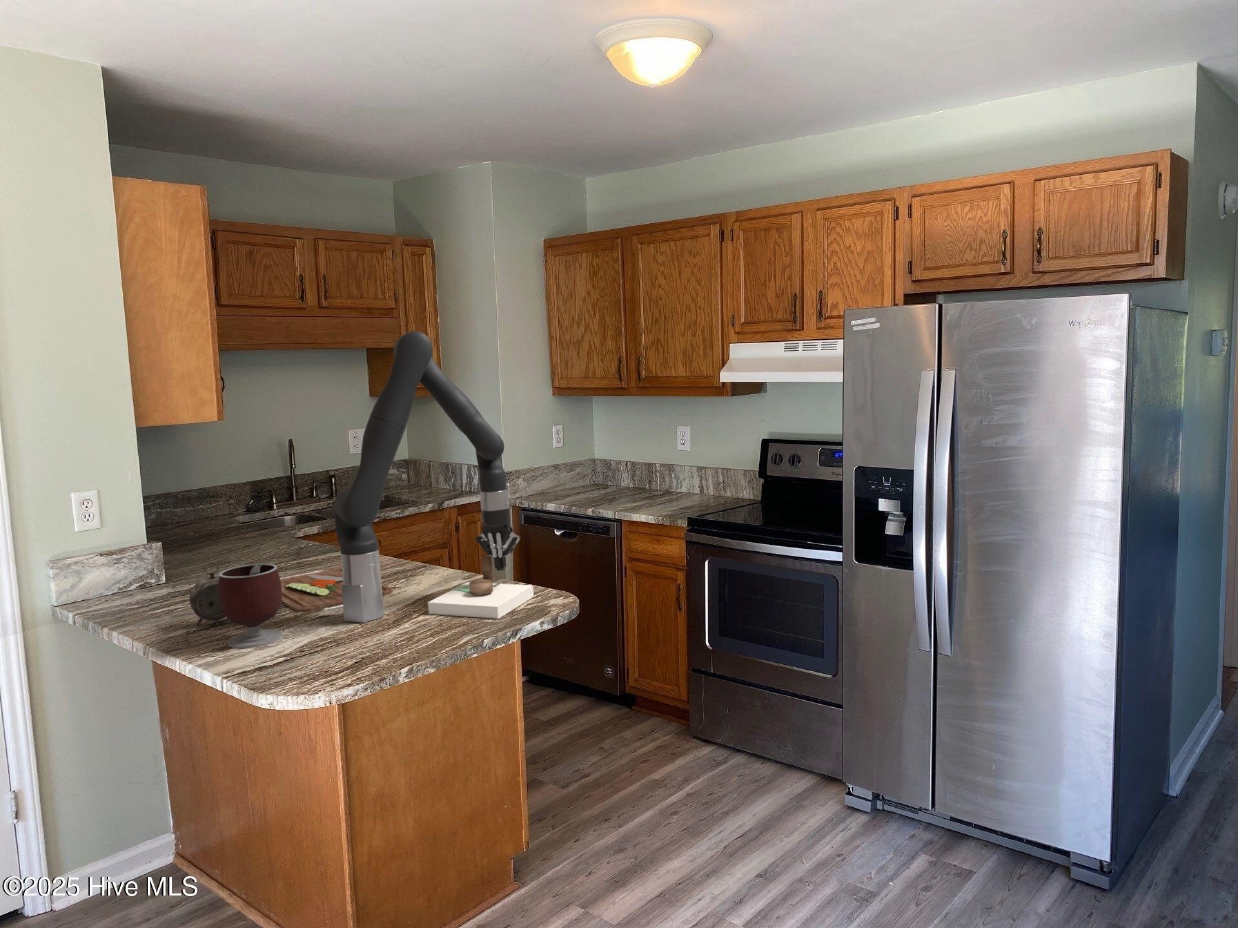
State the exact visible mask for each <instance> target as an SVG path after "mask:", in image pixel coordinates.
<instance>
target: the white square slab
mask: <svg viewBox="0 0 1238 928" xmlns="http://www.w3.org/2000/svg"><path fill="white" fill-rule="evenodd" d="M470 582H471V581H466V582H465V583H463V584H461V585H459V586H457V587H455V588H452V589H451V590H450V591H449V590H448V592H445V593H443V594H441V595H439V596H437V597H436V598H434V599H432V600H430V601H428V602H427V607H428V615H439V616H440V615H441V616H456V617H457V616H458V617H470V618H482V619H483V618H484V619H486V618H487V619H500V618H502V617H504V616H505V615H506V614H509V612H511V611H513V610H515V609H516V608H518V607H519V606H521V605H523V604H524V603H525V602H527V601H528V600H530V599H532V598H534V585H531V584H527V585H526V584H513V583H510V584H508V583H500V582H497V583H494V582H493V592H491V593H488V594H482V595H474V594H471V593H470V586H469V583H470Z"/></svg>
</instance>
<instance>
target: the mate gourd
mask: <svg viewBox="0 0 1238 928" xmlns="http://www.w3.org/2000/svg"><path fill="white" fill-rule="evenodd" d="M218 576H219V584H218V594H219V601H220V605H221V609H222V611H223V614H224V615H225V616H226V618H227V619H228V621H230V623H232V624H235V625H240V626H245V627H247V630H246V632H242V633H239V634H236V635H234V636H232V637H230V638H228V640H227V646H228V647H229V648H233V649H254V648H260V647H264V646H267V645H268V646H269V645H271V644H274V643H276V642H278V641H280V640H282V639H283V637H284V636H283V631H281V630H279V629H273V628H272V629H268V628H267V629H263V628H262V627H261V626H262V624H263V623H265V622H267V621H269V620H271V619H273V618H274V617H275V616H276V615H277V613H278V612H279V609H280V608H281V605H282V603H281V598H282V588H281V580H280V578H281V577H280V574H279V570H278V566H277V565H276V564H272V563H253V564H245V565H239V566H234V567H229V568H227V569H224V570H222V571H220V572H219V574H218Z"/></svg>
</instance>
